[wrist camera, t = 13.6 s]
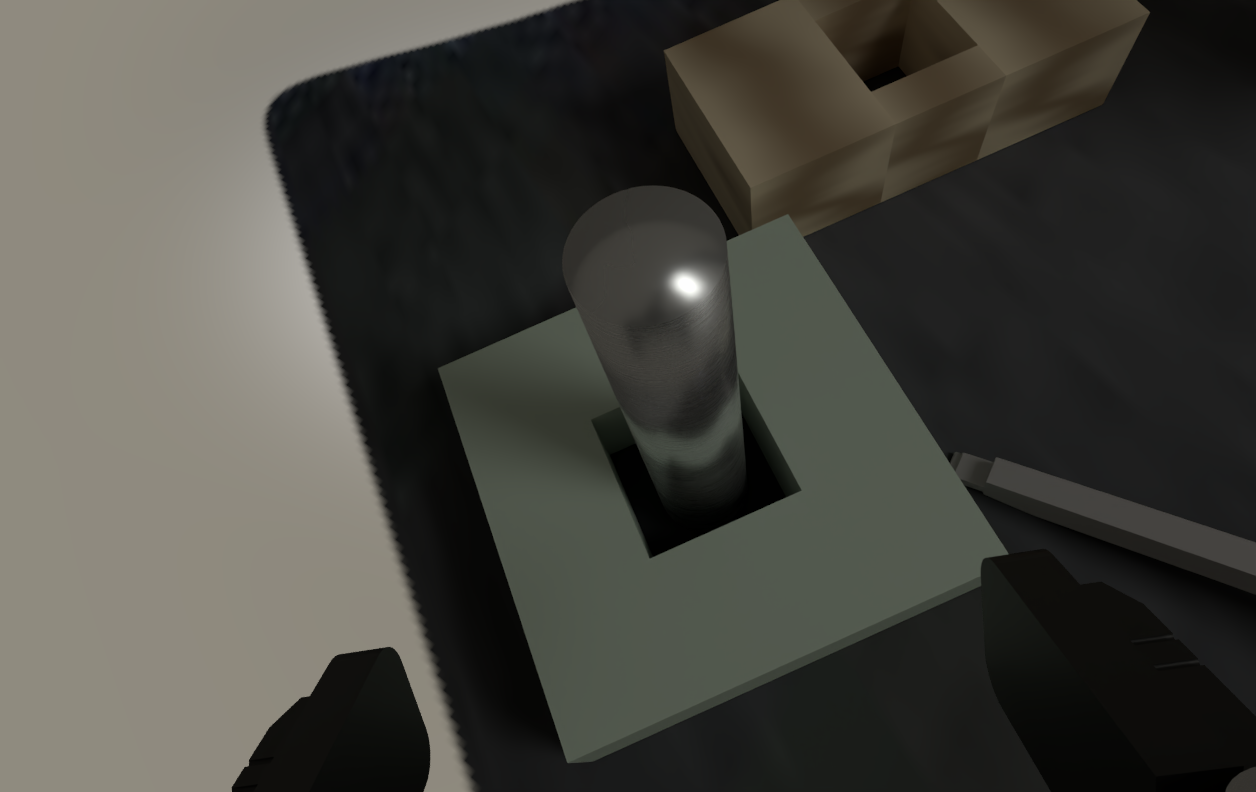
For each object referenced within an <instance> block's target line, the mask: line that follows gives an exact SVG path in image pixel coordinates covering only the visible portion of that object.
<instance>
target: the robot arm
mask: <svg viewBox="0 0 1256 792" xmlns="http://www.w3.org/2000/svg"><path fill="white" fill-rule="evenodd" d="M981 591H982V608H983V625H984V642H985V656H986V663H987V668H988V672H989V676H990V680H991V683H992V686H993V689H994V692H995V694H996V697H997V699H998V701H999V703H1000V705H1001V707H1002V709H1003V710H1004V712H1005V714H1006V716H1007V717H1008V719H1009V721H1010V722H1011V724H1012V726H1013V727H1014V729H1015V731H1016V733H1017V734H1018V736H1019V738H1020V739H1021V741H1022V743H1023V745H1024V746H1025V748H1026V750H1027V751H1028V753H1029V755H1030V757H1031V758H1032V760H1033V762H1034V763H1035V765H1036V767H1037V768H1038V770H1039V772H1040V774H1041V775H1042V777H1043V779H1044V780H1045V782H1046V784H1047V786H1048V787H1049V789H1050V791H1051V792H1256V716H1255V715H1254V714H1253V713H1252V712H1251V711H1250V710H1249V709H1248V708H1247V707H1246V706H1245V705H1244V704H1243V703H1242V702H1241V701H1240V700H1239V699H1238V698H1237V697H1236V696H1235V695H1234V694H1233V693H1232V692H1231V691H1230V690H1229V689H1228V688H1227V687H1226V686H1225V685H1224V684H1223V683H1222V682H1221V681H1220V680H1219V679H1218V678H1217V677H1216V676H1215V675H1214V674H1213V673H1212V672H1211V671H1210V670H1209V669H1208V668H1207V667H1206V666H1205V665H1201V666H1200V664H1199V662H1198V658H1197V657H1196V656H1195V655H1194V654H1193V653H1192V652H1191V651H1190V650H1189V649H1188V648H1187V647H1186V646H1185V645H1184V644H1183V643H1182V642H1181V641H1180V640H1179V639H1178V640H1175V639H1174V637H1173V633H1172V632H1171V631H1170V630H1169V629H1168V628H1167V627H1166V626H1165V625H1164V624H1163V623H1162V622H1161V621H1160V620H1159V619H1158V618H1157V617H1156V616H1155V615H1154V614H1153V613H1152V612H1151V611H1150V610H1149V609H1148V608H1147V607H1146V606H1145V605H1144V604H1142V603H1140V602H1138V601H1137V600H1135V599H1133V598H1131V597H1129V596H1127V595H1125V594H1123V593H1121V592H1119V591H1118V590H1116V589H1114V588H1112V587H1110V586H1108V585H1106V584H1104V583H1102V582H1096V583H1089V584H1083V585H1080V584H1079V583H1078V582H1077V581H1076V580H1075V579H1074V578H1073V577H1072V575H1071V574H1070V573H1069V572H1068V571H1067V570H1066V569H1065V568H1064V567H1063V565H1062V564H1061V563H1060V562H1059V561H1058V560H1057V559H1056V558H1055V557H1054V556H1053V555H1052V554H1051V553H1050V552H1049V551H1048V550H1045V549H1040V550H1034V551H1027V552H1021V553H1014V554H1008V555H1001V556H994V557H988V558H984V559H983V561H982V563H981ZM429 768H430V745H429V738H428V734H427V730H426V727H425V724H424V722H423V719H422V716H421V713H420V711H419V708H418V705H417V702H416V700H415V697H414V694H413V692H412V689H411V687H410V683H409V681H408V678H407V675H406V672H405V669H404V666H403V664H402V661H401V659H400V656H399V655H398V653H397V652H396V651H395V650H394V649H393V648H391V647H386V648H379V649H373V650H366V651H359V652H353V653H346V654H340V655H337V656H335V657H334V658H333V659H332V660H331V662H330V663H329V665H328V667H327V668H326V670H325V672H324V673H323V675H322V677H321V679H320V680H319V682H318V684H317V685H316V687H315V689H314V691H313V692H312V694H311V696H309V697H302V698H300V699H299V700H298V701H297V702H296V703H295V704H294V705H293V706H292V707H291V708H290V709H289V710H288V711H287V712H285V713H284V714H283V715H282V716H281V717H280V718H279V719H278V720H277V721H276V722H275V723H274V724H273V725H272V726H271V727H270V728H269V729H268V731H267V732H266V734H265V735H264V737H263V739H262V740H261V742H260V743H259V745H258V747H257V748H256V750H255V751H254V753H253V755H252V756H251V758H250V759H249V766H248V767H244V769H243V771H242V772H241V774H240V775H239V777H238V778H237V780H236V782H235V783H234V785H233V786H232V792H423V791H424V789H425V786H426V783H427V779H428V775H429Z"/></svg>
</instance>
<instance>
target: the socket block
mask: <svg viewBox="0 0 1256 792" xmlns="http://www.w3.org/2000/svg"><path fill="white" fill-rule="evenodd" d="M727 251H728V262H729V274H730V286H731V297H732V309H733V321H734V332H735V344H736V356H737V368H738V379H739V391H740V403H741V413H742V415H743V417H744V418H745V420H746V422H747V424H748V426H749V428H750V430H751V432H752V434H753V436H754V437H755V439H756V441H757V443H758V445H759V447H760V449H761V451H762V453H763V454H764V456H765V458H766V460H767V462H768V464H769V466H770V468H771V470H772V472H773V473H774V475H775V477H776V479H777V481H778V483H779V485H780V487H781V489H782V490H783V492H784V494H785V496H786V498H784V499H782V500H780V501H777V502H775V503H773V504H771V505H768V506H766V507H764V508H762V509H760V510H757V511H755V512H753V513H751V514H748V515H746V516H744V517H742V518H740V519H737V520H735V521H733V522H731V523H728V524H726V525H724V526H722V527H719V528H717V529H715V530H713V531H711V532H708V533H706V534H704V535H702V536H699V537H697V538H695V539H693V540H690V541H688V542H686V543H684V544H682V545H679V546H677V547H675V548H673V549H670V550H668V551H666V552H664V553H661V554H659V555H657V556H655V557H653V555H652V553H651V551H650V548H649V546H648V544H647V541H646V539H645V537H644V534H643V532H642V529H641V527H640V525H639V522H638V520H637V518H636V515H635V513H634V511H633V508H632V506H631V504H630V501H629V499H628V497H627V494H626V492H625V489H624V487H623V485H622V482H621V480H620V478H619V475H618V473H617V471H616V468H615V466H614V464H613V461H612V459H611V456H610V455H611V454H613V453H615V452H618V451H620V450H622V449H624V448H627V447H629V446H631V445H633V444H636V442H635V440H634V438H633V436H632V433H631V431H630V429H629V426H628V424H627V422H626V420H625V417H624V415H623V413H622V410H621V408H620V406H619V404H618V401H617V399H616V397H615V394H614V392H613V390H612V388H611V385H610V383H609V381H608V378H607V376H606V374H605V372H604V369H603V367H602V365H601V362H600V360H599V358H598V355H597V353H596V351H595V349H594V346H593V344H592V342H591V339H590V337H589V335H588V333H587V330H586V328H585V326H584V323H583V321H582V319H581V317H580V314H579V312H578V310H577V307H576V308H574V309H571V310H569V311H567V312H565V313H562V314H560V315H558V316H556V317H553V318H551V319H549V320H546V321H544V322H542V323H540V324H537V325H535V326H533V327H531V328H528V329H526V330H524V331H522V332H519V333H517V334H515V335H512V336H510V337H508V338H506V339H503V340H501V341H499V342H497V343H494V344H492V345H490V346H488V347H485V348H483V349H481V350H478V351H476V352H474V353H472V354H469V355H467V356H465V357H463V358H460V359H458V360H456V361H454V362H451V363H449V364H447V365H444V366H442V367H440V368H438V371H439V374H440V377H441V380H442V383H443V386H444V389H445V392H446V395H447V398H448V401H449V404H450V407H451V410H452V413H453V416H454V419H455V422H456V425H457V428H458V431H459V434H460V438H461V441H462V444H463V447H464V450H465V453H466V456H467V459H468V462H469V465H470V468H471V471H472V474H473V477H474V480H475V483H476V486H477V489H478V492H479V495H480V498H481V501H482V504H483V508H484V511H485V514H486V517H487V520H488V523H489V526H490V529H491V532H492V535H493V538H494V541H495V544H496V547H497V550H498V553H499V556H500V559H501V562H502V565H503V568H504V571H505V574H506V578H507V581H508V584H509V587H510V590H511V593H512V596H513V599H514V602H515V605H516V608H517V611H518V614H519V617H520V620H521V623H522V626H523V629H524V632H525V635H526V638H527V641H528V644H529V648H530V651H531V654H532V657H533V660H534V663H535V666H536V669H537V672H538V675H539V678H540V681H541V684H542V687H543V690H544V693H545V696H546V699H547V702H548V705H549V708H550V711H551V714H552V718H553V721H554V724H555V727H556V730H557V733H558V736H559V739H560V742H561V745H562V748H563V751H564V754H565V757H566V760H567V763H577V762H593V761H595V760H597V759H600V758H602V757H604V756H606V755H608V754H611V753H613V752H615V751H617V750H619V749H622V748H624V747H626V746H628V745H630V744H633V743H635V742H637V741H639V740H641V739H644V738H646V737H648V736H650V735H653V734H655V733H657V732H659V731H661V730H664V729H666V728H668V727H670V726H672V725H675V724H677V723H679V722H681V721H683V720H686V719H688V718H690V717H692V716H694V715H697V714H699V713H701V712H703V711H706V710H708V709H710V708H712V707H714V706H717V705H719V704H721V703H723V702H725V701H728V700H730V699H732V698H734V697H736V696H739V695H741V694H743V693H745V692H747V691H750V690H752V689H754V688H756V687H759V686H761V685H763V684H765V683H767V682H770V681H772V680H774V679H776V678H778V677H781V676H783V675H785V674H787V673H789V672H792V671H794V670H796V669H798V668H800V667H803V666H805V665H807V664H809V663H811V662H814V661H816V660H818V659H820V658H823V657H825V656H827V655H829V654H831V653H834V652H836V651H838V650H840V649H842V648H845V647H847V646H849V645H851V644H853V643H856V642H858V641H860V640H862V639H864V638H867V637H869V636H871V635H873V634H876V633H878V632H880V631H882V630H884V629H887V628H889V627H891V626H893V625H895V624H898V623H900V622H902V621H904V620H906V619H909V618H911V617H913V616H915V615H917V614H920V613H922V612H924V611H926V610H929V609H931V608H933V607H935V606H937V605H940V604H942V603H944V602H946V601H948V600H951V599H953V598H955V597H957V596H959V595H962V594H964V593H966V592H968V591H970V590H973V589H975V588H977V587H979V586H981V563H982V561H983V559H984V558H988V557H994V556H1001V555H1008V552H1007V551H1006V549H1005V548H1004V546H1003V545H1002V543H1001V542H1000V540H999V539H998V537H997V536H996V534H995V532H994V531H993V529H992V528H991V526H990V525H989V523H988V522H987V520H986V519H985V517H984V515H983V514H982V512H981V511H980V509H979V508H978V506H977V505H976V503H975V502H974V500H973V499H972V497H971V495H970V494H969V492H968V491H967V489H966V488H965V486H964V485H963V483H962V482H961V480H960V478H959V477H958V475H957V474H956V472H955V471H954V469H953V468H952V466H951V465H950V463H949V461H948V460H947V458H946V457H945V455H944V454H943V452H942V451H941V449H940V448H939V446H938V445H937V443H936V441H935V440H934V438H933V437H932V435H931V434H930V432H929V431H928V429H927V428H926V426H925V424H924V423H923V421H922V420H921V418H920V417H919V415H918V414H917V412H916V411H915V409H914V408H913V406H912V404H911V403H910V401H909V400H908V398H907V397H906V395H905V394H904V392H903V391H902V389H901V387H900V386H899V384H898V383H897V381H896V380H895V378H894V377H893V375H892V374H891V372H890V371H889V369H888V367H887V366H886V364H885V363H884V361H883V360H882V358H881V357H880V355H879V354H878V352H877V350H876V349H875V347H874V346H873V344H872V343H871V341H870V340H869V338H868V337H867V335H866V333H865V332H864V330H863V329H862V327H861V326H860V324H859V323H858V321H857V320H856V318H855V317H854V315H853V313H852V312H851V310H850V309H849V307H848V306H847V304H846V303H845V301H844V300H843V298H842V296H841V295H840V293H839V292H838V290H837V289H836V287H835V286H834V284H833V283H832V281H831V280H830V278H829V276H828V275H827V273H826V272H825V270H824V269H823V267H822V266H821V264H820V263H819V261H818V259H817V258H816V256H815V255H814V253H813V252H812V250H811V249H810V247H809V246H808V244H807V242H806V241H805V239H804V238H803V236H802V235H801V233H800V232H799V230H798V229H797V227H796V226H795V224H794V222H793V221H792V219H791V218H790V216H789V215H788V214H787V215H785V216H782V217H780V218H778V219H775V220H773V221H771V222H769V223H766V224H764V225H762V226H760V227H757V228H755V229H753V230H751V231H748V232H746V233H744V234H741V235H739V236H737V237H735V238H732V239H730V240H728V241H727Z"/></svg>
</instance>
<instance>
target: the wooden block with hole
mask: <svg viewBox="0 0 1256 792" xmlns="http://www.w3.org/2000/svg"><path fill="white" fill-rule="evenodd" d="M1149 14H1150V12H1149V11H1148V10H1147V9H1146V8H1145V7H1144V6H1142V5H1141V4H1140V3H1139V2H1138V1H1137V0H779V1H777V2H774V3H772V4H770V5H768V6H765V7H763V8H761V9H758V10H756V11H754V12H751V13H749V14H747V15H745V16H742V17H740V18H738V19H735V20H733V21H731V22H728V23H726V24H724V25H722V26H719V27H717V28H715V29H712V30H710V31H708V32H706V33H703V34H701V35H699V36H696V37H694V38H692V39H689V40H687V41H685V42H683V43H680V44H678V45H676V46H673V47H671V48H669V49H666V50H664V56H665V62H666V69H667V75H668V82H669V89H670V95H671V102H672V108H673V115H674V121H675V128H676V131H677V133H678V135H679V136H680V138H681V140H682V141H683V143H684V145H685V146H686V148H687V150H688V151H689V153H690V155H691V156H692V158H693V160H694V161H695V163H696V165H697V166H698V168H699V170H700V171H701V173H702V175H703V176H704V178H705V180H706V181H707V183H708V185H709V186H710V188H711V190H712V191H713V193H714V195H715V196H716V198H717V200H718V201H719V203H720V205H721V206H722V208H723V210H724V211H725V213H726V215H727V216H728V218H729V220H730V221H731V223H732V225H733V226H734V228H735V230H736V231H737V233H738V235H741V234H744V233H746V232H748V231H751V230H753V229H755V228H757V227H760V226H762V225H764V224H766V223H769V222H771V221H773V220H775V219H778V218H780V217H782V216H785V215H787V214H788V215H789V216H790V218H791V219H792V221H793V222H794V224H795V226H796V227H797V229H798V230H799V232H800V233H801V235H802V236H803V237H804V236H806V235H809V234H811V233H813V232H815V231H818V230H820V229H822V228H824V227H827V226H829V225H831V224H833V223H836V222H838V221H840V220H842V219H845V218H847V217H849V216H852V215H854V214H856V213H858V212H861V211H863V210H865V209H867V208H870V207H872V206H874V205H876V204H879V203H881V202H883V201H886V200H888V199H890V198H892V197H895V196H897V195H899V194H901V193H904V192H906V191H908V190H910V189H913V188H915V187H917V186H919V185H922V184H924V183H926V182H929V181H931V180H933V179H935V178H938V177H940V176H942V175H944V174H947V173H949V172H951V171H953V170H956V169H958V168H960V167H962V166H965V165H967V164H969V163H972V162H974V161H976V160H978V159H981V158H983V157H985V156H987V155H990V154H992V153H994V152H996V151H999V150H1001V149H1003V148H1005V147H1008V146H1010V145H1012V144H1015V143H1017V142H1019V141H1021V140H1024V139H1026V138H1028V137H1030V136H1033V135H1035V134H1037V133H1039V132H1042V131H1044V130H1046V129H1048V128H1051V127H1053V126H1055V125H1058V124H1060V123H1062V122H1064V121H1067V120H1069V119H1071V118H1073V117H1076V116H1078V115H1080V114H1082V113H1085V112H1087V111H1089V110H1091V109H1094V108H1096V107H1098V106H1101V105H1103V103H1104V101H1105V99H1106V97H1107V95H1108V93H1109V91H1110V89H1111V87H1112V86H1113V84H1114V82H1115V80H1116V78H1117V76H1118V74H1119V72H1120V70H1121V68H1122V66H1123V64H1124V62H1125V60H1126V58H1127V56H1128V54H1129V52H1130V51H1131V49H1132V47H1133V45H1134V43H1135V41H1136V39H1137V37H1138V35H1139V33H1140V31H1141V29H1142V27H1143V25H1144V23H1145V21H1146V19H1147V17H1148V16H1149ZM896 67H899V68H900V69H901V70H902V71H903V73H904V74H905V75H906V77H904V78H902V79H900V80H897V81H895V82H893V83H890V84H888V85H886V86H884V87H881V88H879V89H877V90H875V91H872V92H871V91H870V90H869V89H868V88H867V86H866V85H865V84H864V81H866V80H868V79H870V78H873V77H875V76H877V75H880V74H882V73H884V72H886V71H889V70H891V69H893V68H896Z"/></svg>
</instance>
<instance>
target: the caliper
mask: <svg viewBox="0 0 1256 792" xmlns="http://www.w3.org/2000/svg"><path fill="white" fill-rule="evenodd" d="M950 465H951V466H952V468H953V469H954V471H955V472H956V474H957V475H958V477H959V478H960V480H961V482H962V483H963V485H965V486H968V487H971V488H974V489H977V490H979V491H982V492H983V494H984V495H986V496H989V497H991V498H993V499H996V500H998V501H1000V502H1003V503H1005V504H1007V505H1010V506H1012V507H1015V508H1017V509H1019V510H1022V511H1024V512H1026V513H1029V514H1031V515H1033V516H1036V517H1039V518H1042V519H1045V520H1047V521H1050V522H1053V523H1056V524H1059V525H1061V526H1064V527H1067V528H1070V529H1073V530H1076V531H1078V532H1081V533H1084V534H1087V535H1090V536H1092V537H1095V538H1098V539H1101V540H1104V541H1107V542H1109V543H1112V544H1115V545H1118V546H1121V547H1123V548H1126V549H1129V550H1132V551H1135V552H1137V553H1140V554H1143V555H1146V556H1149V557H1152V558H1154V559H1157V560H1160V561H1163V562H1166V563H1168V564H1171V565H1174V566H1177V567H1180V568H1183V569H1185V570H1188V571H1191V572H1194V573H1197V574H1199V575H1202V576H1205V577H1208V578H1211V579H1213V580H1216V581H1219V582H1222V583H1225V584H1227V585H1230V586H1233V587H1236V588H1239V589H1241V590H1244V591H1247V592H1250V593H1253V594H1255V595H1256V543H1255V542H1252V541H1249V540H1246V539H1243V538H1240V537H1237V536H1234V535H1231V534H1228V533H1225V532H1222V531H1219V530H1216V529H1213V528H1210V527H1207V526H1204V525H1201V524H1198V523H1195V522H1192V521H1189V520H1186V519H1183V518H1180V517H1177V516H1174V515H1171V514H1167V513H1164V512H1161V511H1158V510H1155V509H1152V508H1149V507H1146V506H1143V505H1140V504H1137V503H1134V502H1131V501H1128V500H1125V499H1122V498H1119V497H1116V496H1113V495H1110V494H1107V493H1104V492H1101V491H1098V490H1095V489H1092V488H1089V487H1085V486H1082V485H1079V484H1076V483H1073V482H1070V481H1067V480H1064V479H1061V478H1058V477H1055V476H1052V475H1049V474H1046V473H1043V472H1040V471H1037V470H1034V469H1031V468H1028V467H1025V466H1022V465H1019V464H1015V463H1012V462H1009V461H1006V460H1003V459H1000V458H997V457H996V459H995V460H994V463H993V462H990V461H987V460H984V459H982V458H979V457H976V456H972V455H969V454H966V453H958V452H955V453H954V454H953V457H952V459H951V461H950Z"/></svg>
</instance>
